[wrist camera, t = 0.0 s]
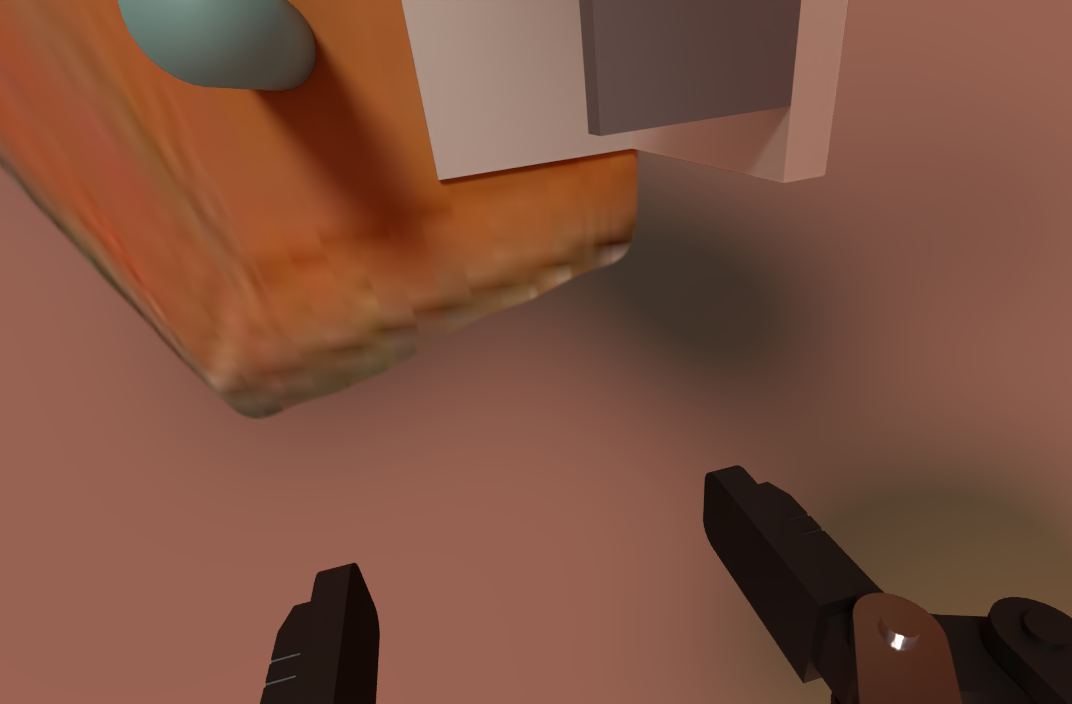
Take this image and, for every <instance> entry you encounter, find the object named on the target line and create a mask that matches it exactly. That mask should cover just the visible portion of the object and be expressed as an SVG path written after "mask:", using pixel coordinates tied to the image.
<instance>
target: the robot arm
mask: <svg viewBox="0 0 1072 704" xmlns="http://www.w3.org/2000/svg"><path fill="white" fill-rule="evenodd" d="M703 523H704V528H705V532H706V535H707V537H708V540H709V542H710V544H711V546H712V547H713V549H714V550H715V552H716V553H717V555H718V556H719V558H720V559H721V561H722V562H723V564H724V565H725V567H726V568H727V570H728V571H729V573H730V574H731V576H732V577H733V579H734V580H735V582H736V583H737V585H738V586H739V588H740V589H741V591H742V592H743V594H744V595H745V597H746V598H747V600H748V601H749V602H750V604H751V606H752V607H753V609H754V610H755V612H756V613H757V615H758V616H759V618H760V619H761V621H762V622H763V624H764V625H765V627H766V628H767V630H768V631H769V632H770V634H771V636H772V637H773V638H774V640H775V641H776V643H777V645H778V646H779V648H780V649H781V650H782V652H783V654H784V655H785V657H786V658H787V659H788V661H789V662H790V664H791V665H792V667H793V668H794V670H795V671H796V673H797V674H798V676H799V677H800V679H801V680H802V682H803V683H806V682H809V681H812V680H815V679H818V678H821V677H822V678H823V679H824V681H825V682H826V683H827V685H828V686H829V688H830V689H831V691H832V694H831V704H1072V618H1071V617H1069V616H1068V615H1066V614H1065V613H1063V612H1061V611H1059V610H1057V609H1056V608H1053V607H1051V606H1049V605H1047V604H1044V603H1041V602H1038V601H1035V600H1031V599H1027V598H1020V597H1008V598H1003V599H1000V600H998V601H997V602H996V603H994V604H993V606H992V607H991V609H990V612H989V614H988V616H987V617H982V616H957V615H956V616H955V615H937V614H930V613H928V612H927V611H926V610H924V609H923V608H922V607H920V606H919V605H917V604H916V603H914V602H912V601H910V600H908V599H905V598H903V597H900V596H897V595H894V594H889V593H884V592H883V591H882V590H881V589H880V588H878V586H877V585H875V583H874V582H873V581H872V580H871V579H870V578H869V577H868V576H867V575H866V574H865V573H864V572H863V571H862V570H861V569H860V568H859V567H858V566H857V564H856V563H854V561H853V560H852V559H851V558H850V557H849V556H848V555H847V554H846V553H845V552H844V551H843V550H842V549H841V548H840V547H839V546H838V545H837V543H836V542H835V541H834V540H833V539H832V538H831V537H830V536H829V535H828V534H827V533H826V532H825V531H822V530H821V527H820V526H819V525H818V524H817V523H816V521H815V520H814V519H813V518H812V517H811V516H808V515H807V512H806V511H805V510H804V509H803V508H802V507H801V506H800V505H799V504H798V503H797V502H796V501H795V499H794V498H793V497H792V496H791V495H789V494H788V493H786V492H784V491H783V490H781V489H779V488H777V487H776V486H774V485H772V484H770V483H769V482H765V483H761V484H757V483H756V482H755V480H753V478H752V477H751V476H750V475H749V474H748V473H747V472H746V470H745V469H744V468H742V467H741V466H738V465H737V466H732V467H729V468H725V469H721V470H717V471H713V472H709V473H707V474H706V476H705V487H704V512H703ZM379 638H380V631H379V621H378V615H377V611H376V608H375V605H374V602H373V600H372V598H371V595H370V593H369V591H368V588H367V586H366V583H365V581H364V579H363V577H362V574H361V572H360V569H359V567H358V565H357V564H356V563H352V564H347V565H344V566H340V567H336V568H332V569H329V570H324V571H321V572H318V574H317V575H316V578H315V582H314V587H313V592H312V597H311V601H310V602H307V603H303V604H300V605H295V606H294V607H293V608H292V610H291V612H290V613H289V615H288V617H287V618H286V620H285V622H284V623H283V625H282V626H281V628H280V629H279V631H278V633H277V637H276V641H275V645H274V650H273V653H272V658H271V660H272V663H271V664H270V665H269V669H268V674H267V678H266V687H265V688H264V690H263V694H262V698H261V702H260V704H376V691H377V675H378V674H377V673H378V657H379Z"/></svg>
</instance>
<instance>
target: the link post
mask: <svg viewBox="0 0 1072 704" xmlns="http://www.w3.org/2000/svg"><path fill="white" fill-rule="evenodd" d="M118 2H119V7H120V11H121V14H122V16H123V19H124V22H125V24H126V26H127V28H128V30H129V32H130V34H131V35H132V37H133V39H134V40H135V42H136V43H137V44H138V46H139V47H140V48H141V50H142V51H143V52H144V53H145V54H146V55H147V56H148V57H149V58H150V59H151V60H152V61H153V62H154V63H155V64H157V65H158V66H159V67H160V68H162V69H163V70H164V71H166V72H167V73H169V74H171V75H172V76H174V77H176V78H178V79H180V80H183V81H185V82H188V83H191V84H194V85H198V86H203V87H217V88H235V89H254V90H272V91H286V90H290V89H293V88H296V87H298V86H299V85H301V84H302V83H303V82H305V81H306V79H307V78H308V77H309V76H310V74H311V72H312V70H313V68H314V65H315V60H316V45H315V40H314V36H313V33H312V31H311V28H310V26H309V24H308V23H307V21H306V19H305V18H304V17H303V15H302V14H301V13H300V12H299V11H298V10H297V9H296V8H295V7H294V6H293V5H292V4H291V3H289V2H288V1H287V0H118Z"/></svg>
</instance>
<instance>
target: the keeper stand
mask: <svg viewBox="0 0 1072 704" xmlns="http://www.w3.org/2000/svg"><path fill="white" fill-rule="evenodd" d="M848 1H849V0H402V5H403V10H404V15H405V20H406V25H407V30H408V34H409V39H410V44H411V49H412V54H413V59H414V64H415V68H416V73H417V78H418V83H419V88H420V93H421V98H422V102H423V107H424V112H425V117H426V122H427V127H428V132H429V136H430V141H431V146H432V151H433V156H434V161H435V166H436V171H437V175H438V180H443V179H449V178H455V177H461V176H467V175H473V174H479V173H485V172H491V171H498V170H504V169H510V168H516V167H522V166H528V165H534V164H540V163H546V162H553V161H559V160H565V159H571V158H577V157H583V156H589V155H595V154H601V153H608V152H614V151H620V150H626V149H636V150H641V151H645V152H649V153H654V154H658V155H662V156H667V157H671V158H676V159H680V160H684V161H689V162H693V163H697V164H702V165H706V166H711V167H715V168H719V169H723V170H728V171H732V172H737V173H741V174H745V175H750V176H754V177H758V178H763V179H767V180H771V181H776V182H780V183H787V182H792V181H798V180H804V179H809V178H814V177H820V176H825V172H826V165H827V157H828V150H829V142H830V135H831V127H832V120H833V113H834V105H835V98H836V90H837V83H838V76H839V68H840V60H841V53H842V46H843V38H844V31H845V24H846V16H847V9H848Z"/></svg>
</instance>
